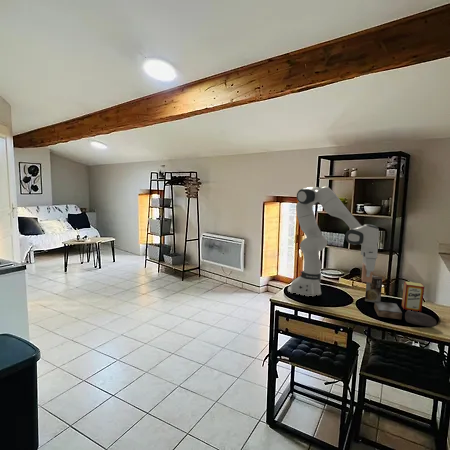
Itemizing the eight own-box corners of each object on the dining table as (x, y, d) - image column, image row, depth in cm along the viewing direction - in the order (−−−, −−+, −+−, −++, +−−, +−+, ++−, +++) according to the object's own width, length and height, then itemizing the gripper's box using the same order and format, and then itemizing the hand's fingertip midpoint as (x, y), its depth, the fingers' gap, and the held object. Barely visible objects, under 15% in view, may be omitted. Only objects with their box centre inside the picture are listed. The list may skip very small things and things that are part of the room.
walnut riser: (378, 316, 185) (378, 309, 185) (374, 307, 199) (374, 301, 198) (401, 319, 182) (402, 312, 182) (395, 310, 196) (396, 303, 195)
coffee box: (380, 300, 211) (383, 276, 208) (380, 303, 205) (382, 279, 203) (365, 297, 215) (367, 274, 213) (364, 300, 209) (366, 276, 207)
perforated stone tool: (435, 326, 175) (437, 314, 174) (436, 330, 170) (438, 317, 169) (403, 319, 182) (405, 308, 181) (403, 323, 177) (405, 311, 176)
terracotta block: (362, 281, 190) (363, 265, 189) (361, 279, 195) (362, 263, 194) (371, 282, 189) (373, 266, 188) (370, 280, 194) (371, 264, 192)
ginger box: (418, 308, 200) (421, 283, 198) (421, 311, 194) (424, 286, 192) (401, 305, 203) (404, 280, 201) (403, 309, 197) (406, 284, 195)
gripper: (360, 248, 201) (359, 270, 202) (365, 255, 181) (363, 279, 183) (372, 249, 199) (370, 271, 201) (378, 256, 179) (375, 280, 181)
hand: (366, 275), depth 192 cm, fingers closed on terracotta block, 5 cm apart
